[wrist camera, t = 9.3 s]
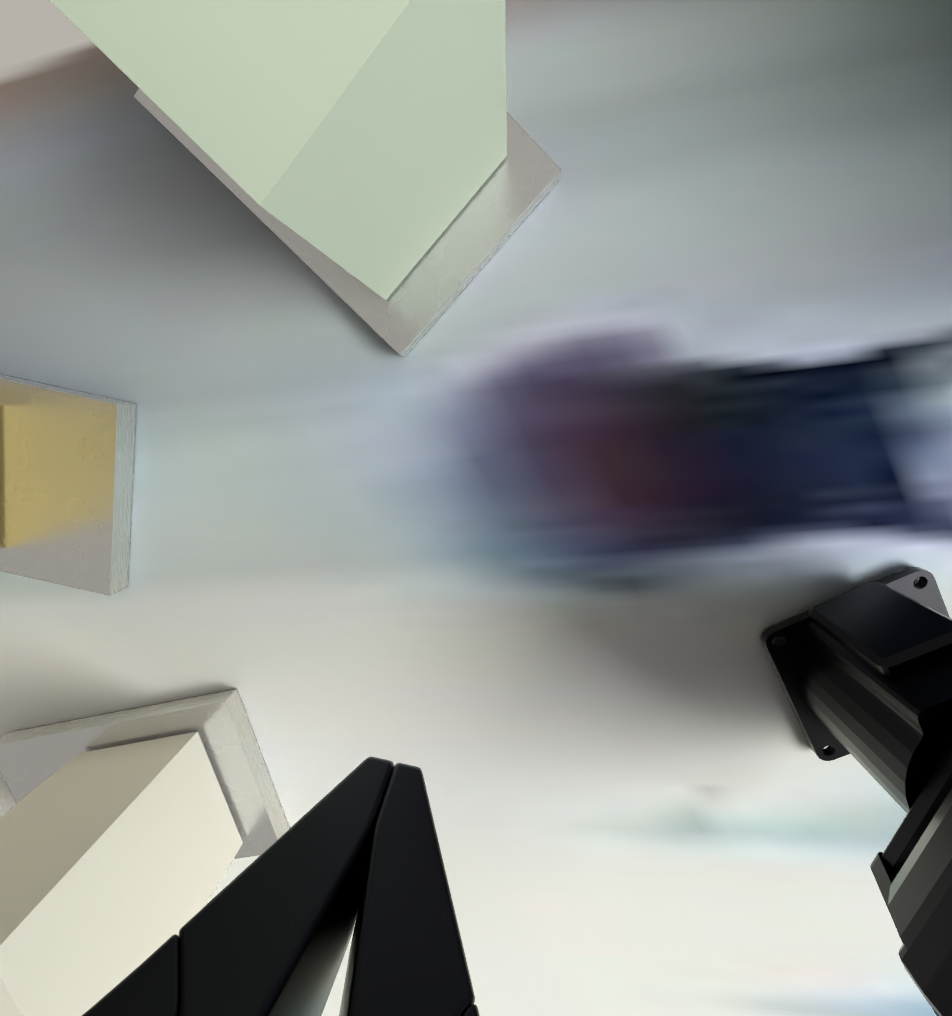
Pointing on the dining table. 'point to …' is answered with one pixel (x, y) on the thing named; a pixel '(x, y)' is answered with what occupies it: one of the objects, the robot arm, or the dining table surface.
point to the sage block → (328, 108)
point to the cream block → (106, 870)
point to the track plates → (109, 478)
